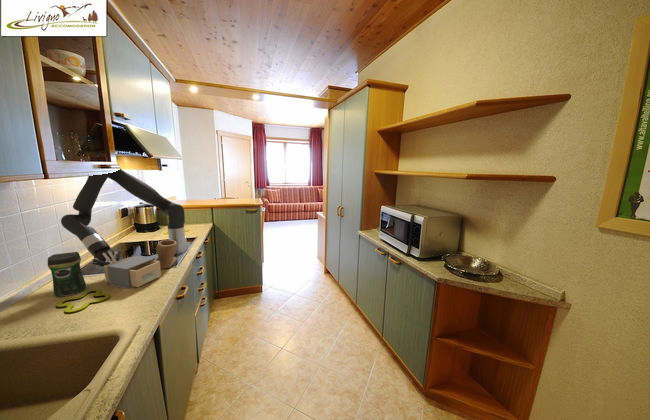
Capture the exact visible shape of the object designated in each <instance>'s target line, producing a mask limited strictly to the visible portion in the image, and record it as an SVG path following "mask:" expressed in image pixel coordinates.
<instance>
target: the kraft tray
mask: <svg viewBox="0 0 650 420" xmlns="http://www.w3.org/2000/svg"><path fill="white" fill-rule="evenodd" d="M128 258H131V256H128V257H125V258H122V259H121V260H120V259H119V261H117V262H120V261H123V260H126V259H128ZM117 262H114V263H117ZM114 263H111V264H108V265H105V266H102V267H103V272H104V278H105V282H107V283H110V282H109V276H108V269H107V266H109V265H112V264H114ZM161 270H162V269H161V268H160V261H157V260H155V261H153V260H152V261H149V262H147V263H144V264H142V265H139V266H136V267H134V268H131V269H129V270H128V272H129V279H130V286H134V287H136V288H139V287H141V286H143V285H145V284H147V283H149V282H151V281H154V280H156V279H157V278H160V277H161V276H162V271H161ZM134 287H133V288H134Z"/></svg>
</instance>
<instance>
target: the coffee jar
mask: <svg viewBox="0 0 650 420" xmlns="http://www.w3.org/2000/svg"><path fill="white" fill-rule="evenodd" d="M81 261H82V258H81V255H80V253H79V252H78V251H72V252H71V251H70V252H64V253H56V254H55V253H54V254H52V255H50V256H49V257H48V258H47V267H48V269H49V270H50V272H51V276H52V277H51V278H52V285H53V286H52V287H53V288H52V289H53V295H54V297H58V298H60V297H65V296H69V295H70V296H71V295H75V294H79V293H80V292H82V291H85V289H86V288H87V283H86V281H85V278H84V276H83V272H82V268H81Z"/></svg>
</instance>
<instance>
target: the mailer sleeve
mask: <svg viewBox="0 0 650 420" xmlns="http://www.w3.org/2000/svg"><path fill="white" fill-rule="evenodd" d="M130 257H131V256H130ZM127 258H128V257H127ZM122 260H123V259H122ZM152 260H153V261H156V257H152V256H143V255H134V256H132V257H131V258H128V259H126V260H123V261H120V260H119V261H120V262H117V263H114V264H112V265H109V266H107V269H108V276H109V282H108V283H109V286H110V287H117V288H122V289H127V290H130V289H133V288H134V286H130V279H129V272H128V270H129V269H131V268H134V267H136V266H139V265H142V264H144V263H147V262H149V261H152Z"/></svg>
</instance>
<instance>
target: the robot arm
mask: <svg viewBox="0 0 650 420" xmlns="http://www.w3.org/2000/svg"><path fill="white" fill-rule="evenodd" d="M108 179H110V180H112V181H113V182H115V183H116V184H118V185H119V186H120V187H121V188H122V189H124V190H125V191H126V192H128V193H129V194H131V195H132V196H135V197H136V198H138V199H139V200H141V201H143V202H145V203H147V204H149V205H151V206H154V207H155V208H157V209H158V210H160V211H161V212H162V213H164V214H165V215H166V216H168V223H167V234H168V240H173V241H175V242H176V243H177V248H176V251H175V254H174V255H179V254H183V253H186V252H187V251H188V241H187V236H186V234H185V233H186V232H185V223H186V220H185V218H186V217H185V208H184V207H183V206H182V205H181V204H179V203H176V202H172V201H170V200H169V199H167V198H166V197H164V196H162V195H161V193H159V192H158V191H157V190H156V189H154V188H153V187H152V186H150V185H149V184H148V183H146V182H145V181H143V180H141V179H139V178H137V177H136V176H134V175H131V174H130V173H128V172H126V171H125V170H123V169H122V168H120V170H118V171H116V172H113V173H108V174H102V175H93V176H89V175H88V177H87V179H86V181H85V183H84V185H83V186H82V188H81V190H80V191H79V193H78V194H77V195H76V196H77V197H76V198H75V201H74V202H73V205H72V209H74V211H77V212H78V214H69V213H68V214H66V215H63V216H61V219H60V223H61V226H62V227H63V228H64V229H65V230H67V231H68V232H70V233H71V234H73V235H75V236H76V237H77V238H78V239H79V240H80V241H81V243H82V244H83V247H84V248H85V249H86V250H87V251H88V252H89V253H90V254H91V255H92V256H93V259H92V260H91V262H90V263H91V264H92V265H95V266H100V267H103V266H105V265H108V264H111V263H114V262H117V261H120V259H121V253H122V251H120V250H119V251H115V250H114V249H112V248H111V246H110V245H109V244H108V242H107V241H106V239H104V238H103V236H101V235H100V234H99V232H97V230H95V228H93V227H92V226H89V225H90V223H91V221H92V210H93V208H94V206H95V203H96V202H97V200H98V197H99V194H100V193H101V190H102V188H103V186H104V184H105V183H106V181H107V180H108Z"/></svg>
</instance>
